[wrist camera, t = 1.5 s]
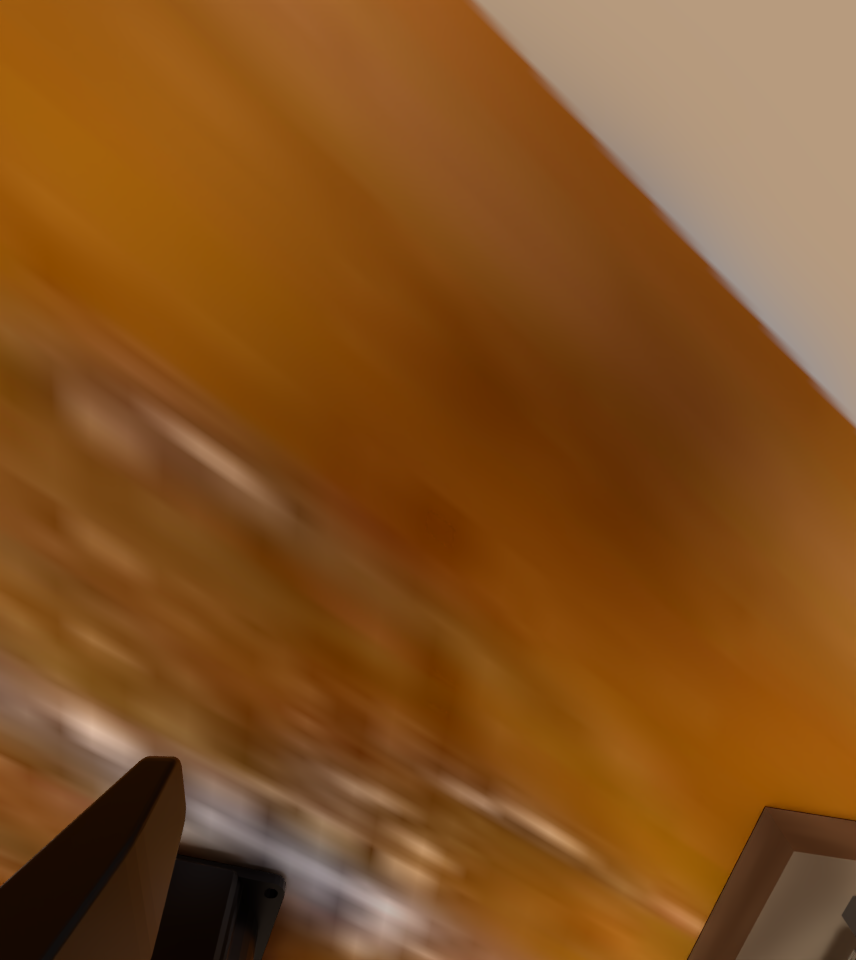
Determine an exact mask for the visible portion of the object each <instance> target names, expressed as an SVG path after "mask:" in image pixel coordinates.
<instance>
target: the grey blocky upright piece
mask: <svg viewBox="0 0 856 960" xmlns="http://www.w3.org/2000/svg"><path fill="white" fill-rule="evenodd" d="M847 960H856V949H853V951H852V952H851V954H850V956H849V957H848V959H847Z"/></svg>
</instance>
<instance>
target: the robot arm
mask: <svg viewBox="0 0 856 960" xmlns="http://www.w3.org/2000/svg"><path fill="white" fill-rule="evenodd" d="M185 814H186V803H185V793H184V784H183V774H182V766H181V763H180V760H179V759H178V758H176V757H166V756H148V757H145V758H144V759H142V760H140V761H139V762H138V763H137V764H136V765H135V766H134V767H133V768H131V769H130V770H129V771H128V772H127V773H126V774H125V775H124V776H123V777H121V778H120V779H119V780H118V781H117V782H116V783H115V784H114V785H113V786H112V787H110V788H109V789H108V790H107V791H106V792H105V793H104V794H103V795H102V796H100V797H99V798H98V799H97V800H96V801H95V802H94V803H93V804H92V805H90V806H89V807H88V808H87V809H86V810H85V811H84V812H83V813H82V814H80V815H79V816H78V817H77V818H76V819H75V820H74V821H73V822H72V823H71V824H69V825H68V826H67V827H66V828H65V829H64V830H63V831H62V832H61V833H59V834H58V835H57V836H56V837H55V838H54V839H53V840H52V841H51V842H49V843H48V844H47V845H46V846H45V847H44V848H43V849H42V850H41V851H39V852H38V853H37V854H36V855H35V856H34V857H33V858H32V859H31V860H29V861H28V862H27V863H26V864H25V865H24V866H23V867H22V868H21V869H20V870H18V871H17V872H16V873H15V874H14V875H13V876H12V877H11V878H10V879H8V880H7V881H6V882H5V883H4V884H3V885H2V886H1V887H0V960H261V959H262V956H263V953H264V951H265V948H266V945H267V942H268V939H269V937H270V934H271V931H272V928H273V925H274V923H275V920H276V917H277V914H278V912H279V909H280V906H281V903H282V900H283V898H284V893H285V887H286V882H285V880H284V878H282V877H281V876H279V875H276V874H272V873H267V872H262V871H257V870H252V869H247V868H242V867H237V866H232V865H227V864H222V863H217V862H212V861H207V860H202V859H197V858H192V857H187V856H182V855H177V852H178V848H179V843H180V839H181V835H182V831H183V827H184V822H185ZM270 888H273V889H270Z"/></svg>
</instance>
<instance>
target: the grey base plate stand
mask: <svg viewBox="0 0 856 960" xmlns="http://www.w3.org/2000/svg"><path fill="white" fill-rule="evenodd" d="M853 949H856V821H850V820H844V819H838V818H831V817H825V816H819V815H813V814H806V813H800V812H794V811H787V810H781V809H775V808H769V807H765V809H764V811H763V813H762V815H761V817H760V819H759V821H758V823H757V825H756V827H755V829H754V830H753V832H752V834H751V836H750V838H749V840H748V842H747V844H746V846H745V848H744V850H743V852H742V854H741V856H740V858H739V860H738V862H737V864H736V866H735V868H734V870H733V872H732V874H731V876H730V878H729V880H728V882H727V884H726V886H725V888H724V889H723V891H722V893H721V895H720V897H719V899H718V901H717V903H716V905H715V907H714V909H713V911H712V913H711V915H710V917H709V919H708V921H707V923H706V925H705V927H704V929H703V931H702V933H701V935H700V937H699V939H698V941H697V943H696V945H695V947H694V948H693V950H692V952H691V954H690V956H689V958H688V960H847V959H848V957H849V956H850V954H851V952H852V951H853Z"/></svg>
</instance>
